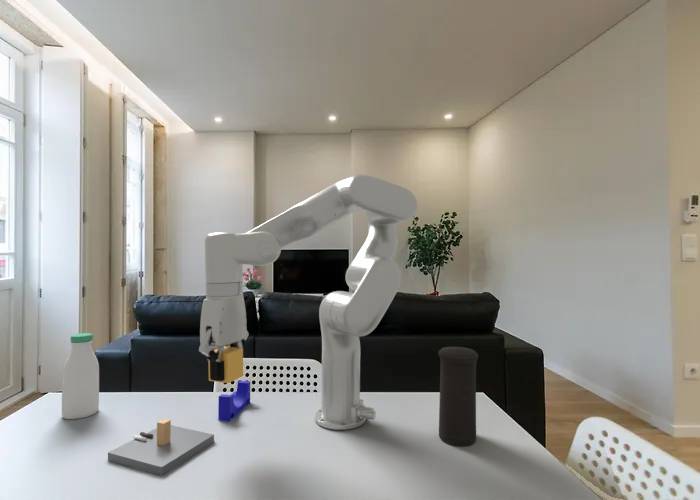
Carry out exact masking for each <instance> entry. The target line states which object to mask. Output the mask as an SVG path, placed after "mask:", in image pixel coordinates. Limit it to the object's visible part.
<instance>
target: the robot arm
mask: <svg viewBox="0 0 700 500" xmlns="http://www.w3.org/2000/svg"><path fill="white" fill-rule="evenodd" d="M417 210H418V201H417V198H416V196H415V195H414V194H413V192H412V191H411V190H410V189H408V188H406V187H404V186H401V185H398V184H395V183H392V182H389V181H386V180H384V179H381V178H378V177H375V176H372V175H369V174H355V175H352V176H350V177H346V178H344V179H340V180H338V181H337V182H335V183H333V184H331V185H329V186H328V187H326V188H324V189H323V190H321V191H318V192H317V193H315V194H314V195H312V196H310V197H307V199H305V200H303V201H301V202H299V203H297V204H295V205H294V206H292V207H290V208H289V209H287V210H286V211H284V212H281V213H280V214H278V215H277V216H275V217H273V218H271V219H269V220H267V221H266V222H264V223H262V224H260V225H259V226H257V227H254V228H253V229H251V230H249V231H247V232H245V233H236V232H211V233H208V234H207V235H206V236H205V238H204V263H205V267H204V270H205V298H204V299H203V301H202V306H201V312H200V321H199V322H200V325H199V327H200V328H199V343H200V345H199V347H198V352H200V353H201V354H202V355H204V356H205V358H206V359H207V362H208V361H210V379H211V380H215V381H223V380H224V361H222V356H223V350H224V346H226V347H237V348H243V347H244V346H245V344H246V341H247V339H248V337H249V335H250V334H249V331H248V330H247V327H248V326H247V311H246V304H245V299H244V298H245V297H244V284H243V283H244V282H243V280H244V278H243V277H244V276H243V275H244V273H243V266H244V265H250V266H251V265H252V266H259V267H263V266H265V267H266V266H268V265H271V264H273V263H274V262H276V261H277V260H278V259H279V257H280V255H281V251H282V248H284V247H286V246H288V245H290V244H293V243H295V242H298V241H301V240H305V239H309V238H312V237H314V236H316V235H319V234H321V233H322V232H324V231H325V230H327V229H328V228H330V227H332V226H333V225H335V224H336V223H339V222H341V220H343V219H345V218H346V217H348V216H350V215H351V214H353V213H355V212H362V211H364V217H365V220H366V222H367V237H366V239H365V241H364V242H363V245H362V246H361V247H360V249H359V251H358V252H357V254H356V255H355V257H354V258H353V260H352V261H351V263H350V265H349V266H348V268H347V269H346V271H345V282H346V284H347V286H348V287H349V288H350V289H351V290H352V291H354V292H349V291H344V290H336V291H332V292H329V293H328V294H327V295H325V296H324V298H323V299H322V301H321V303H320V305H319V308H318V310H319V311H318V317H319V325H320V332H321V399H320V400H321V402H320V403H321V407H320V409H318V410H317V411H316V412H315V414H314V421H315V423H316V424H317V425H319V426H321V427H322V428H325V429H329V430H335V431H336V430H337V431H343V430H345V431H346V430H351V429H355V428H358V427H360V426H362V425H363V424H364V423H365V422H366V421H367V420H366V419H368V420H375V419H376V416H377V412H376V410H375V408H374V407H370V406H366V405H365V404H364V399H360V398H361V394H360V393H361V392H360V391H361V342H360V341H361V340H360V337H366V336H368V335H370V334H371V333H372V332H373V331H374V330H375V329H376V328H377V326H378V325H379V324H380V322H381V320H382V319H383V317H384V316H385V314H386V312H387V310H388V309H389V307H390V305H391V304H392V302H393V300H394V298H395V296H396V294H397V293H398V291H399V289H400V286H401V281H402V280H401V279H402V274H401V273H402V272H401V270H400V267H399V265H398V264H397V262H396V261H394V260H393V258H394V257H395V255H396V252H397V250H398V244H399V239H398V233H397V229H396V228H397V227H396V224H401V223H406V222H409V221H410V220H412V218H414V216H415V215H416V213H417ZM215 349H218V350H217V354H216V353H215V352H214V351H215ZM243 349H244V348H243ZM215 381H214V382H215Z"/></svg>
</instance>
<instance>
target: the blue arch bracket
mask: <svg viewBox="0 0 700 500" xmlns="http://www.w3.org/2000/svg"><path fill="white" fill-rule="evenodd" d="M236 386H237V387H236V391H233V392H231V394H223V393H221V394H220V395H219V396H218V419H217V420H218V421H225V422H231V421H232V420H233V419H234V418H235V417H236V416H237V415H239V413H240V412H242V411H243V410H244V409H245V408H246V407H247V406H248V405H249V404H251V381H250V380H249V381H248V380H239V381H238V382H237V385H236Z"/></svg>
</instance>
